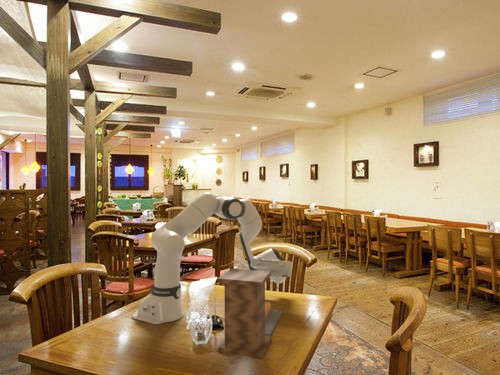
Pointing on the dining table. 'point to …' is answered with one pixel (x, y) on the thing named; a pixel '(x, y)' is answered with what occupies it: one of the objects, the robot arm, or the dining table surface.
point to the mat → (271, 321)
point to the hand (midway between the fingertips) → (268, 260)
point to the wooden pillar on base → (245, 312)
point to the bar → (267, 307)
